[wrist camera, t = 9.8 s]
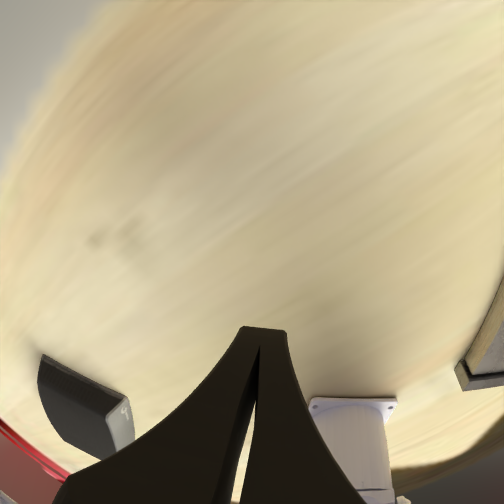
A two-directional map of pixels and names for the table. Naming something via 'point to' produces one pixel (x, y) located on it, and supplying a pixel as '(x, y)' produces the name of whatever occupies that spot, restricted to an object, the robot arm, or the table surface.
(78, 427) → the external hard drive
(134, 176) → the table surface
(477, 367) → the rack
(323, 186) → the table surface
